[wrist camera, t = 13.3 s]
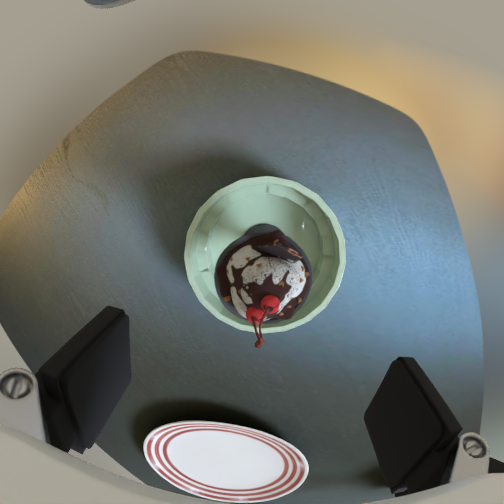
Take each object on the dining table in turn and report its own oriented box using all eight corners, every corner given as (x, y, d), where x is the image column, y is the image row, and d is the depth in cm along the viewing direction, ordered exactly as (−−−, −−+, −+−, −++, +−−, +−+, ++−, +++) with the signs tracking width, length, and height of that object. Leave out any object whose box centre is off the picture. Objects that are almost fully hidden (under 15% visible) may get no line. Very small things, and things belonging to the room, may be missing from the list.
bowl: (209, 167, 28) (198, 163, 23) (346, 194, 28) (361, 197, 23) (189, 296, 31) (177, 316, 26) (314, 320, 31) (321, 343, 26)
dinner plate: (158, 478, 41) (154, 489, 38) (136, 391, 35) (128, 405, 32) (290, 494, 41) (290, 506, 38) (325, 415, 34) (328, 431, 31)
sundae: (252, 290, 30) (239, 380, 15) (220, 234, 29) (174, 285, 14) (308, 261, 29) (345, 334, 14) (277, 203, 28) (291, 223, 13)
